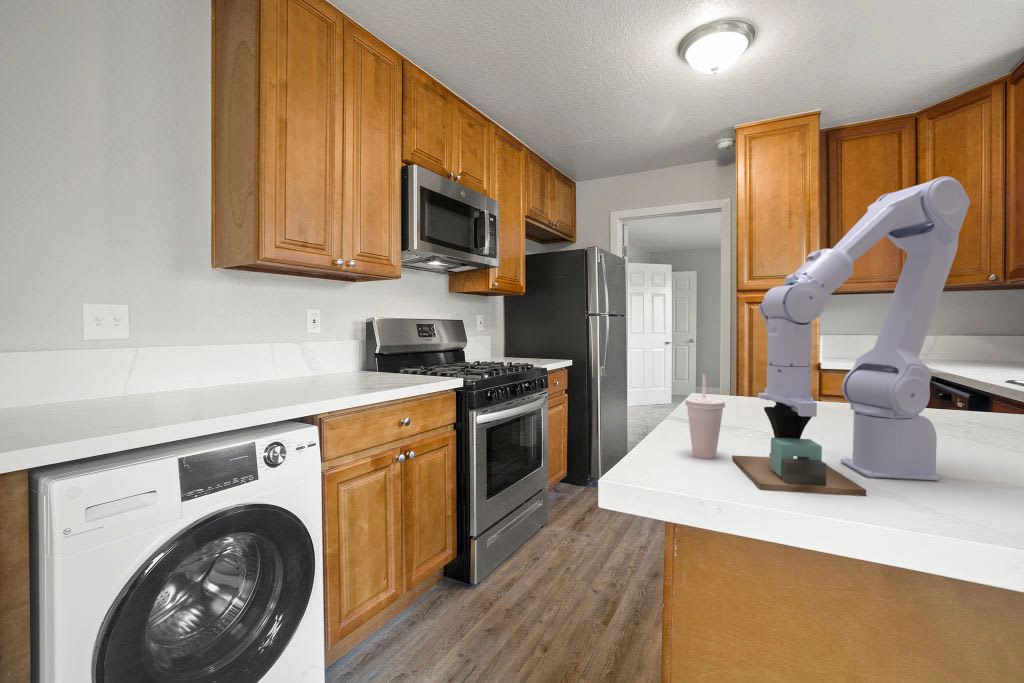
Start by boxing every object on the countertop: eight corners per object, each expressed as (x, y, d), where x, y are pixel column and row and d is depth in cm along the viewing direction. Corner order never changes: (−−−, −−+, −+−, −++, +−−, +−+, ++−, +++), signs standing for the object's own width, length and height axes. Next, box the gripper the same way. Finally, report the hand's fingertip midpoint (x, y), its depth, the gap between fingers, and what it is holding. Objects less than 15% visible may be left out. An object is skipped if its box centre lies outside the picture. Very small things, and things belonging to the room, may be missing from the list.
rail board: (818, 464, 75) (818, 441, 75) (866, 495, 62) (866, 467, 62) (732, 460, 78) (732, 437, 78) (759, 489, 64) (760, 462, 64)
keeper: (808, 470, 69) (809, 439, 69) (821, 478, 65) (821, 446, 65) (770, 468, 70) (771, 437, 70) (780, 476, 66) (781, 444, 66)
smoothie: (717, 451, 83) (718, 373, 83) (730, 461, 77) (731, 377, 77) (680, 450, 84) (681, 373, 84) (690, 460, 78) (691, 377, 77)
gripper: (745, 360, 78) (743, 441, 78) (777, 369, 63) (775, 468, 64) (791, 361, 76) (789, 443, 77) (835, 370, 62) (832, 471, 63)
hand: (786, 455), depth 70 cm, fingers closed
